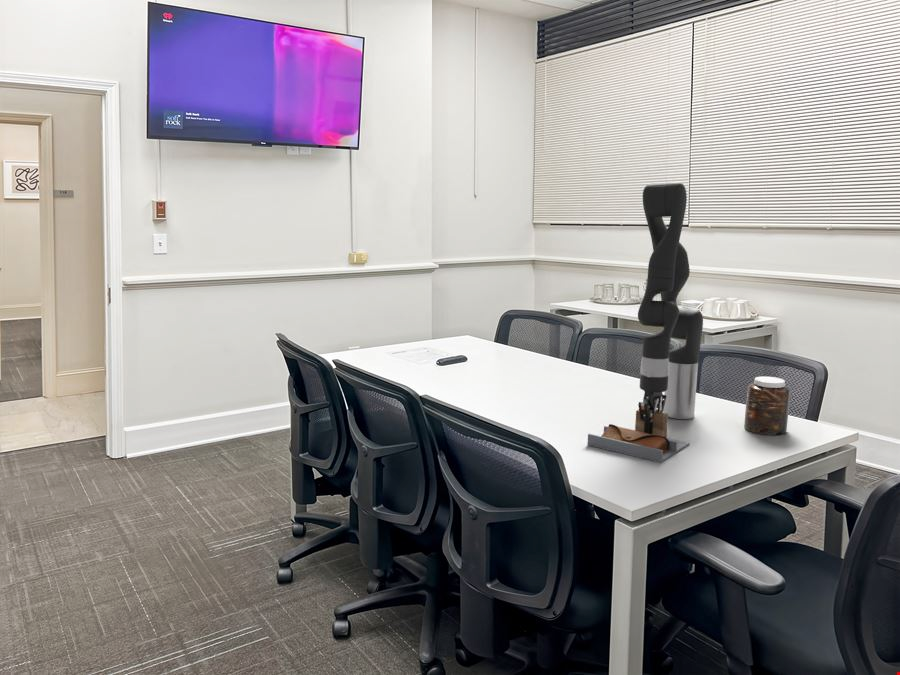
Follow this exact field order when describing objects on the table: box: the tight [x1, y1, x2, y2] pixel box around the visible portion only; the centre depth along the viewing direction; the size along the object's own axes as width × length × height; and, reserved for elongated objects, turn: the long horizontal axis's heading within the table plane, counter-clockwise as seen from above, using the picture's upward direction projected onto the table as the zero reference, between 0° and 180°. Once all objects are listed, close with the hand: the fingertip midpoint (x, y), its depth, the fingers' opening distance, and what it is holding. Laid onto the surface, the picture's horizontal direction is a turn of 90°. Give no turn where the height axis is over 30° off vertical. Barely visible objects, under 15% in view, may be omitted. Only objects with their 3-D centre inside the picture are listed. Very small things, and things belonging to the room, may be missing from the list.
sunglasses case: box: [601, 423, 669, 454], centre depth 198 cm, size 18×7×7 cm, turn 51°
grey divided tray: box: [586, 409, 690, 463], centre depth 201 cm, size 18×21×8 cm
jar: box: [743, 376, 791, 436], centre depth 216 cm, size 12×12×15 cm
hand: (650, 432), depth 207 cm, fingers closed on grey divided tray, 3 cm apart
